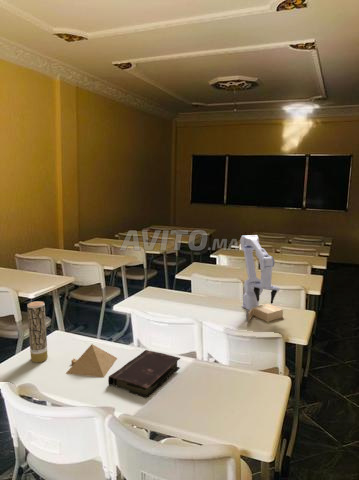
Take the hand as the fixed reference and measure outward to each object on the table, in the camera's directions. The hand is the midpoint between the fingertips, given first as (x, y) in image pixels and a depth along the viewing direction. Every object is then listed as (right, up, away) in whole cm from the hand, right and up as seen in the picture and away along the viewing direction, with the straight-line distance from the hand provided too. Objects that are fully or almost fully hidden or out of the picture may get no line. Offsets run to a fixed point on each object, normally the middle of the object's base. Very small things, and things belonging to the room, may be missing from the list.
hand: (264, 302), depth 212 cm
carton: (+3, -9, +5) cm, 10 cm away
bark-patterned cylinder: (-107, -17, -47) cm, 119 cm away
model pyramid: (-84, -19, -51) cm, 100 cm away
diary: (-60, -21, -60) cm, 87 cm away
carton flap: (-9, -9, -1) cm, 13 cm away
